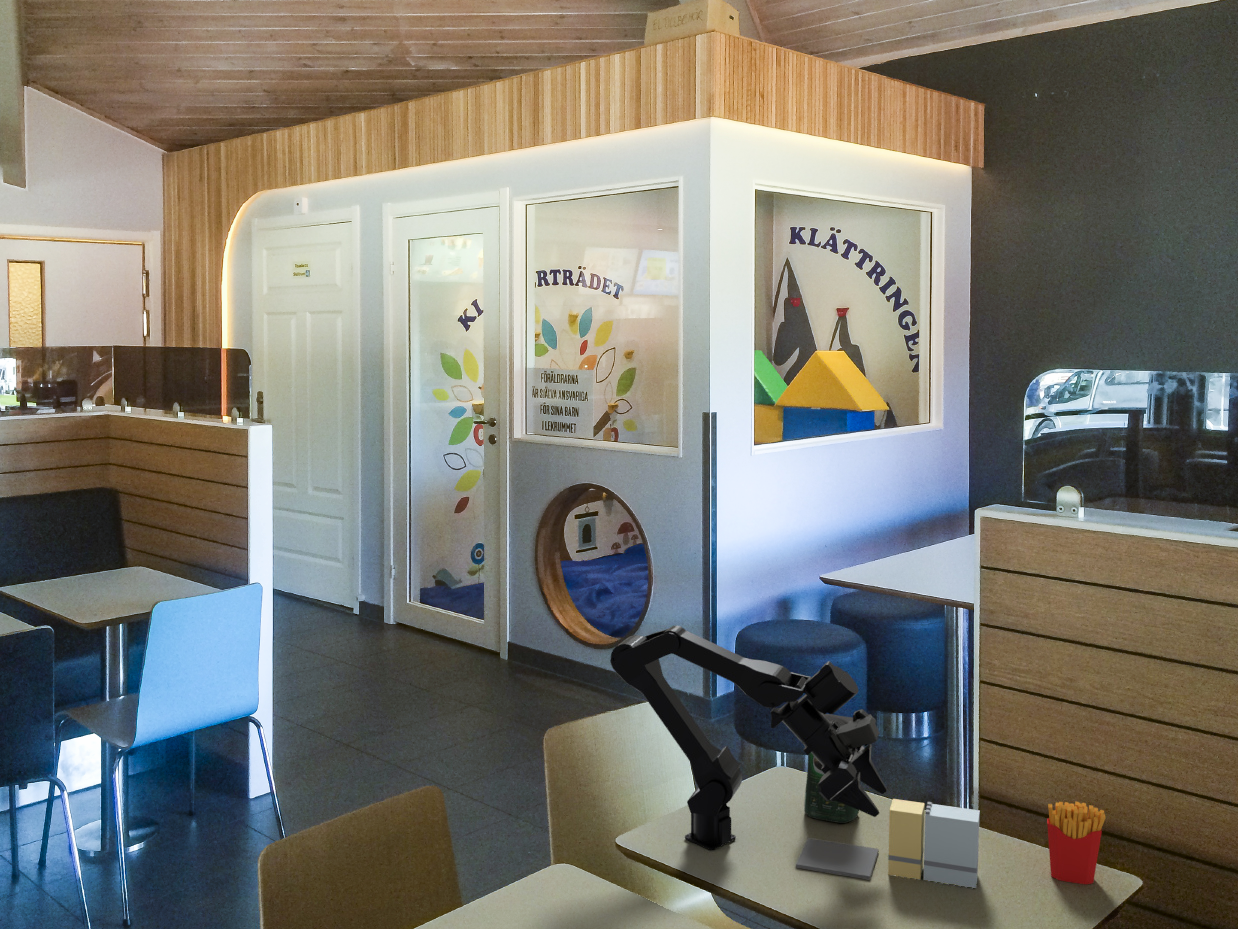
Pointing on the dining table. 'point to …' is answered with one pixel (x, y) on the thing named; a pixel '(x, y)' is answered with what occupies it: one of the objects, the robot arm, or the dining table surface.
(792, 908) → the dining table surface
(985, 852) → the dining table surface
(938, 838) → the knobbed pale slab
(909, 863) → the block
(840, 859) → the mat
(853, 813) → the coffee jar
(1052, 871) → the french fries
